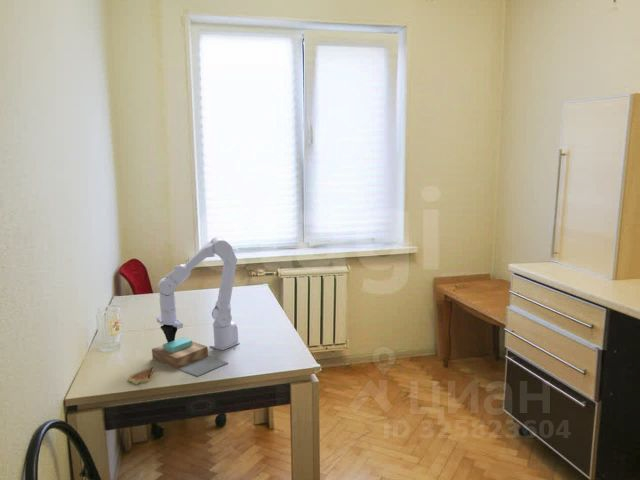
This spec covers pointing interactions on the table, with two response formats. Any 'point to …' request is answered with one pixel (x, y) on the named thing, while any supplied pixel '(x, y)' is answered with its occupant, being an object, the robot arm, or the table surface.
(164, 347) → the aqua rectangular block
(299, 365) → the table surface
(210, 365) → the grey flat slab
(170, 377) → the table surface
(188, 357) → the brown wooden flat block
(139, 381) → the shard
